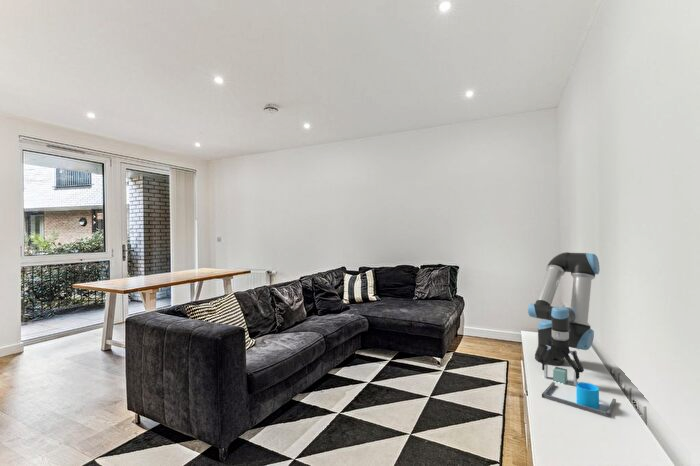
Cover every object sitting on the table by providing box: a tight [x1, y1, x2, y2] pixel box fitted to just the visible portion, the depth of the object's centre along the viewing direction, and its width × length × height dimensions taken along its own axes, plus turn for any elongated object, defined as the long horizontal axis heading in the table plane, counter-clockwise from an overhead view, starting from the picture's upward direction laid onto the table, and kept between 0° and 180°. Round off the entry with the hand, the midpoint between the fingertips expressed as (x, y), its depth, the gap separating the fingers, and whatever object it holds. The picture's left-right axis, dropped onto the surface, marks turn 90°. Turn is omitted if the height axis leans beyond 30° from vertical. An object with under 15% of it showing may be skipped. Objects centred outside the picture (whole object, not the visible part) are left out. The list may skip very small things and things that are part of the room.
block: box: [552, 366, 568, 385], centre depth 176 cm, size 5×5×6 cm
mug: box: [575, 382, 600, 410], centre depth 154 cm, size 12×8×8 cm
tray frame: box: [541, 381, 617, 418], centre depth 157 cm, size 17×25×2 cm
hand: (560, 380), depth 176 cm, fingers open, 12 cm apart
